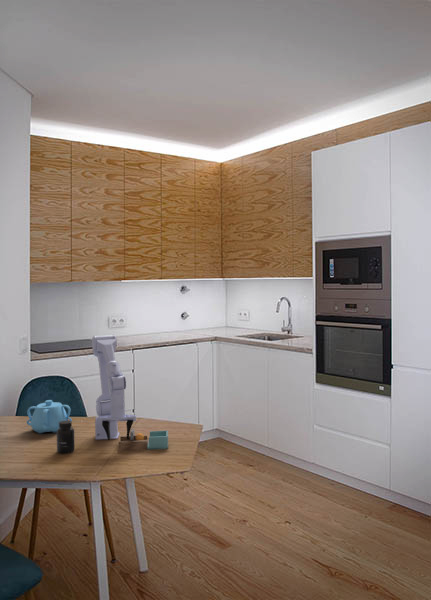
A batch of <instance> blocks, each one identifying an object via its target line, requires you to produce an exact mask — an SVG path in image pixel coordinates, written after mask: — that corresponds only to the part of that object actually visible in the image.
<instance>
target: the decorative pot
mask: <svg viewBox="0 0 431 600" xmlns="http://www.w3.org/2000/svg"><path fill="white" fill-rule="evenodd" d="M65 408H66V409H67V411H66V409H65ZM33 409H34V411H33V412H32V413H31V410H33ZM71 411H72V410H71V407H70V406H69V405H68V404H62V403H61V402H59V401H58V402H54V401H53V399H48V400H45V401H44V402H42V403H38V404H37V405H36V406H34V405H33V406H30V407H28V408H27V411H26V413H27V416H28V418H29V419H27V420H26V424H27V425H28V426H31V429H32V430H33V431H34V432H37V434H43V433H47V432H49V433H50V432H52V433H54V434H57V430H58V429H59V422H61V421H65V420H69V421H71V422H72V421H73V419H72V418H71V417H70V415H71Z"/></svg>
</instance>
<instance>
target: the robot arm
mask: <svg viewBox="0 0 431 600" xmlns="http://www.w3.org/2000/svg"><path fill="white" fill-rule="evenodd" d="M117 341H118V339H117V336H116V335H115V333H114V334H108V335H93V336H92V338H91V345H92V346H91V347H92V348H91V349H92V353H93V356H94V357H97V361H98V366H99V367H98V368H99V376H100V377H99V378H100V386H101V387H100V388H101V394H100V395H99V396H98V397H97V399H96V402H95V403H96V405H95V408H96V409H95V410H96V415H97V416H96V417H95V423H94V424H95V425H94V426H95V427H94V430H95V440H97V441H98V440H108V441H110V440H117V439H119V437H120V432H119V430H118V429H119V428H118V425H119V424H118V422H126V423H125V425H126V436H127V439H129V436H130V432H131V428H132V425H133V423H134V422H136V421H137V415H136V414H126V408H125V407H126V406H125V405H126V404H125V403H126V401H125V399H126V398H125V390H126V389H127V381H126V380H127V379H126V376H125V374H124V373H122V370H121V367H120V366H121V365H120V363H119V362H118V361H116V355H115V351H116V348H117V346H118V345H117V344H118V343H117Z"/></svg>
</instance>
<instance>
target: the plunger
mask: <svg viewBox="0 0 431 600" xmlns="http://www.w3.org/2000/svg"><path fill="white" fill-rule="evenodd" d="M134 435H135V428H132V429H130V433H129V436H130V441H134V440H135V438H134Z"/></svg>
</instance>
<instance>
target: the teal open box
mask: <svg viewBox="0 0 431 600" xmlns="http://www.w3.org/2000/svg"><path fill="white" fill-rule="evenodd" d="M147 441H148V444H147V450H148V451H149V450H151V451H152V450H167V449H169V430H149V436H148V440H147Z"/></svg>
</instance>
